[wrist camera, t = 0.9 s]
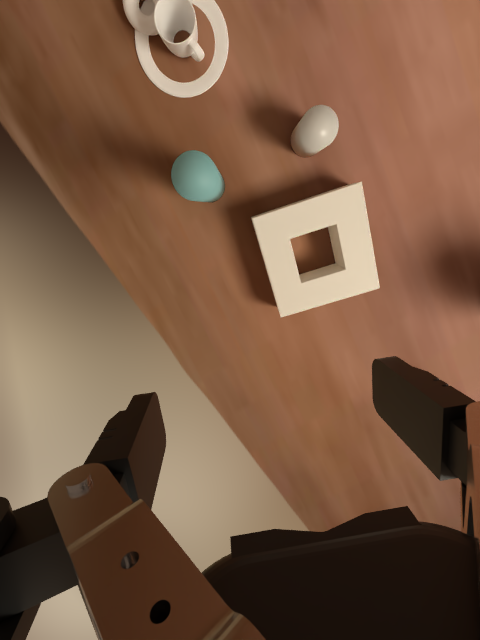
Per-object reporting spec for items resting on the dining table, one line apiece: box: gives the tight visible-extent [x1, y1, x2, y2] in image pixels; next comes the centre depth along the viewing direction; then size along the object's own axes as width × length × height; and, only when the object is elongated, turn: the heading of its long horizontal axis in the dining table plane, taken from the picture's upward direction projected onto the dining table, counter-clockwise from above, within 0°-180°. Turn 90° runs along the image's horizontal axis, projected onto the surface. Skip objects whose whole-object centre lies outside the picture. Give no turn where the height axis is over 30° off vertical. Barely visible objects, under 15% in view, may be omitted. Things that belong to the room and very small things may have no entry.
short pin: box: [291, 105, 339, 157], centre depth 27 cm, size 3×3×5 cm
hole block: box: [251, 182, 380, 317], centre depth 31 cm, size 10×10×4 cm
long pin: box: [171, 150, 225, 202], centre depth 26 cm, size 3×3×11 cm
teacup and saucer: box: [123, 0, 228, 98], centre depth 25 cm, size 9×8×4 cm
